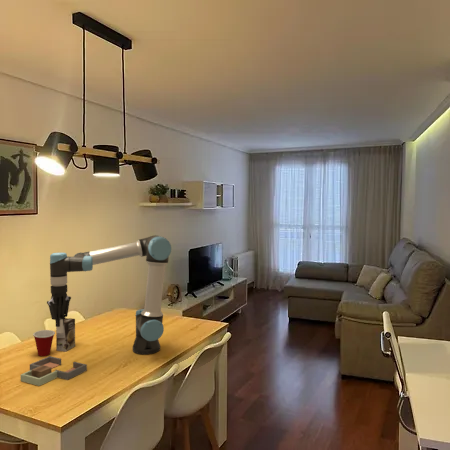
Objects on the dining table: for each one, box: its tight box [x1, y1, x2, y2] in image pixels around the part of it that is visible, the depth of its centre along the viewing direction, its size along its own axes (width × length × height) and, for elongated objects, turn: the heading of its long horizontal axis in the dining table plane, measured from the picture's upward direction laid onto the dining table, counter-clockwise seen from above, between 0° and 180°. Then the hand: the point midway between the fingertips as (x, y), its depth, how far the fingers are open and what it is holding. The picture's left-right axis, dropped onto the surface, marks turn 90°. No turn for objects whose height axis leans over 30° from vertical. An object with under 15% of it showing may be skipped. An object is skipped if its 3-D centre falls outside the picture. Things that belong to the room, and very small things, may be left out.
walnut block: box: [31, 365, 53, 378], centre depth 185 cm, size 6×6×4 cm
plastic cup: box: [32, 329, 56, 357], centre depth 214 cm, size 11×11×12 cm
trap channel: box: [20, 355, 88, 387], centre depth 188 cm, size 25×22×3 cm
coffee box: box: [55, 317, 76, 352], centre depth 223 cm, size 9×6×16 cm
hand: (59, 332), depth 193 cm, fingers closed
